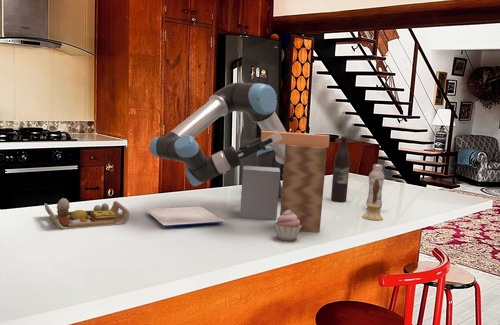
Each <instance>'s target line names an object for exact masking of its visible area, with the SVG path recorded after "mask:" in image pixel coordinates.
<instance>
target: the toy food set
mask: <svg viewBox="0 0 500 325" xmlns="http://www.w3.org/2000/svg"><path fill="white" fill-rule="evenodd" d="M43 206H44V207H45V211H46V213H47V214H48V216H50V218H51V220H52V222H53V223H54V224H55V225H56V227H57V228H58V229H60V230H62V231H65V230H74V229H86V228H98V227H111V226H122V225H124V224H126V222H127V221H128V219H129V217H130V214H131V212H130V210H129V209H128V208H126V207H125V206H124V205H122V204H121V203H120V202H118V201H117V200H114V201H113V202H112V206H111V208H110V207H109V204H108V203H102V204H101V205H99V204H97V205H95V206H94V207H93V210H83V209H76V210H73V211H69V209H70V202H69V200H68V199H67V198H64V197H62V198H61V199H60V200H58V201H57V204H56V213H57V214H55V213H54V211H53V210H52V209H51V208H50V206H49V205H48V203H44V204H43ZM119 210H121V214H120V212H119Z"/></svg>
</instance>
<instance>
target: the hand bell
mask: <svg viewBox="0 0 500 325" xmlns="http://www.w3.org/2000/svg"><path fill="white" fill-rule="evenodd" d="M378 192H379V180H377V179H376V180H375V182H374V184H373V200H372V203H371V204H369V205H368V208H367V207H366V208H367V209H366V210H365V213H363V215H362V218H363V219H365V220H368V221H383V220H384V218H383V216H382V215H381V212H380V210H381V209H379V205H377V204H376V201H377V194H378Z"/></svg>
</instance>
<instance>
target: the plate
mask: <svg viewBox="0 0 500 325" xmlns="http://www.w3.org/2000/svg"><path fill="white" fill-rule="evenodd" d="M145 212H146V213H148V214H149V215H150V216H151V217H152V218H154V219H155V220H156V221H157V222H158V223H160V224H161V225H162V226H163V227H178V226H192V225H206V224H216V223H224V222H225V220H223V219H222V218H220V217H219V216H217V215H215V214H214V213H213V212H210V211H209V210H207V209H205V208H204V207H202V206H198V205H197V206H183V207H181V206H180V207H163V208H162V207H160V208H147V209H145Z"/></svg>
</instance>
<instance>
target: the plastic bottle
mask: <svg viewBox="0 0 500 325" xmlns="http://www.w3.org/2000/svg"><path fill="white" fill-rule="evenodd" d="M382 170H383V164H380V163H374V164H373V166H372V170H371V172H369V174H368V195H367V199H366V202H365V203H366V204H365V205H366V206H365V207H366V208H368V205H369V204H371V203H372V200H373V184H374V182H375V180H376V179H377V180H379V192H378V194H377V201H376V204H377V205H379V209H380V210H381V209H382V205H383V200H382V192H383V191H382V190H383V185H384V182H385V174H384V172H383V171H382Z"/></svg>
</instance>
